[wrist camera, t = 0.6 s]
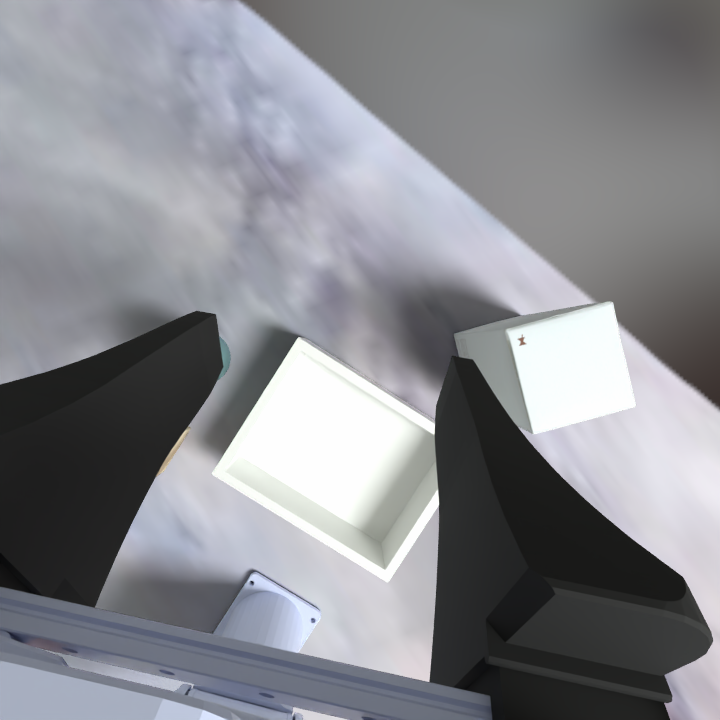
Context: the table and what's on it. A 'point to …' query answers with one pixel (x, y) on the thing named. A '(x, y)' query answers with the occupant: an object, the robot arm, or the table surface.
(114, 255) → the table surface
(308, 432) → the tote
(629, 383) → the supplement box
